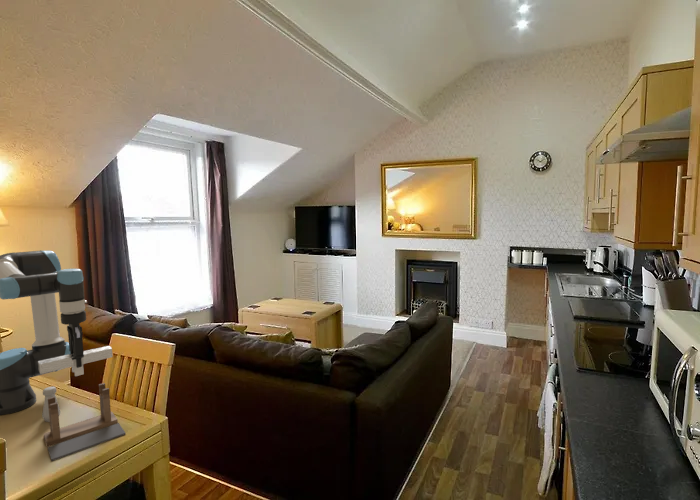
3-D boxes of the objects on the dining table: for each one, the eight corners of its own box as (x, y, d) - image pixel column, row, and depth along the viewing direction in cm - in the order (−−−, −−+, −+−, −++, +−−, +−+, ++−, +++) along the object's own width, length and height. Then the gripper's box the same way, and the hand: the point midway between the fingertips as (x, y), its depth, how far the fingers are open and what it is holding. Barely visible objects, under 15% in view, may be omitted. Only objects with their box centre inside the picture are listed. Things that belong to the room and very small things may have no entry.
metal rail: (38, 370, 138) (37, 361, 137) (109, 354, 153) (109, 345, 152) (40, 374, 135) (39, 364, 134) (112, 357, 150) (112, 348, 150)
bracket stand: (43, 437, 143) (40, 399, 141) (112, 415, 158) (109, 380, 156) (47, 447, 137) (43, 408, 135) (117, 422, 152) (115, 387, 150)
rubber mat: (47, 448, 136) (47, 447, 136) (118, 424, 151) (118, 423, 151) (51, 461, 129) (51, 459, 129) (125, 434, 145) (125, 432, 145)
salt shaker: (50, 424, 151) (48, 392, 150) (38, 422, 152) (35, 390, 151) (64, 416, 157) (62, 385, 155) (52, 414, 158) (50, 384, 156)
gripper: (90, 314, 138) (95, 377, 141) (80, 305, 150) (85, 363, 153) (64, 318, 133) (70, 383, 136) (56, 308, 145) (61, 369, 148)
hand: (78, 372), depth 144 cm, fingers closed on metal rail, 4 cm apart
